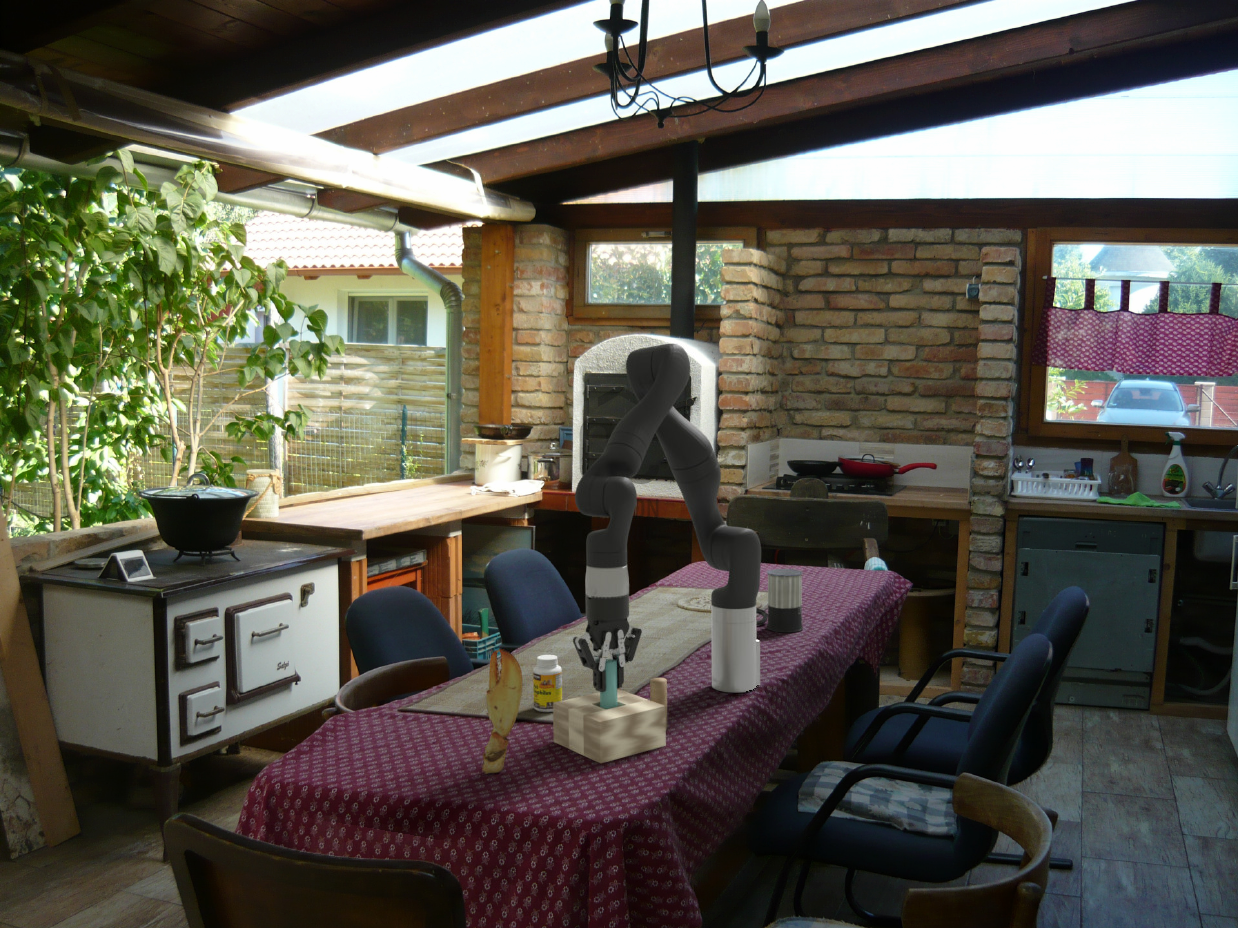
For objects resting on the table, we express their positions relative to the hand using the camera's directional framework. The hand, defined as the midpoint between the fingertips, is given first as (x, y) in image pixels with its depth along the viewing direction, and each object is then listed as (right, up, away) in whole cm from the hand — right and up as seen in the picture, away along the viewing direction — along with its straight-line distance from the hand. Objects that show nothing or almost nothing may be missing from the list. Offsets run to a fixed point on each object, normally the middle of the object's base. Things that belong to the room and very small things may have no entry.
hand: (608, 688), depth 187 cm
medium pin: (+9, -9, +9) cm, 16 cm away
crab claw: (-17, -11, -13) cm, 24 cm away
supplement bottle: (-12, -9, +22) cm, 26 cm away
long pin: (0, -9, +1) cm, 9 cm away
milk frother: (+41, -3, +90) cm, 99 cm away
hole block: (0, -10, +1) cm, 10 cm away
